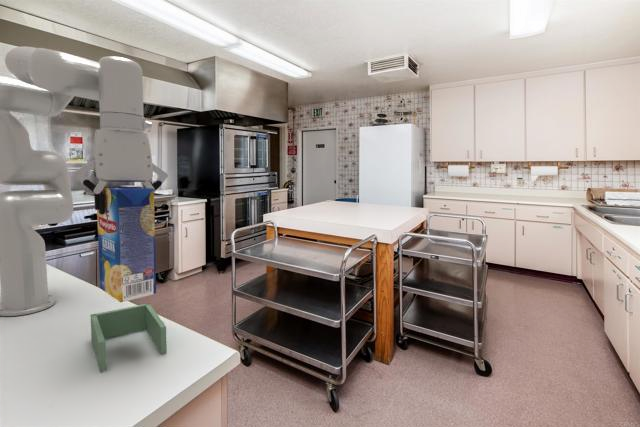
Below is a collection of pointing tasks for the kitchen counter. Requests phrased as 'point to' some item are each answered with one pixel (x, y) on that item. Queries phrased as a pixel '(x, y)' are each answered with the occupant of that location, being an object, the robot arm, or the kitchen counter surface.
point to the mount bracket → (126, 328)
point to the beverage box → (127, 242)
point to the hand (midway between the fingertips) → (125, 212)
